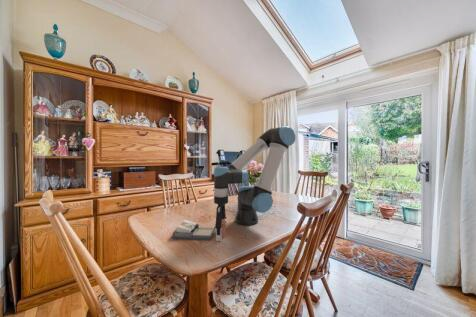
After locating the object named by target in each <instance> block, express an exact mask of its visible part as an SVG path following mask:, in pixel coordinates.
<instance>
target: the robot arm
mask: <svg viewBox="0 0 476 317" xmlns="http://www.w3.org/2000/svg"><path fill="white" fill-rule="evenodd" d="M295 142H296V134H295V131H294V129H293V128H292V127H290V126H283V125H282V126H281V127H273V128H270V129H268V130H266V131H265V132H264V133H262V134H261V135H260V136H259V137H258V138H257V139H256V141H255V142H254V143H253V144H251V145H250V146H249V148H247V149H246V150H245V151H244V152H243V153H241V155H239V156H237V158H236V159H234V160H233V162H232V163H230V164H229V165H228V166H216V167H214V170H213V186H214V187H213V190H212V191H213V195H214V196H213V203H214V204H215V205H217V207H216V209H215V210H216V214H215V226H214V227H213V228H215V241H216V242H222V241H223V240H222V228H221V224H222V221H226V219H227V216H226V204H228V203H229V185H232V184H233V185H234V184H245V183H247V182H248V181H249V177H250V176H249V172H248V170H246V169H244V168H246V167H247V166H248V165H249V164H250V163H251V162H253V161H254V160H255V159H256V158H257V157H259V155H260V154H261V153H262V152H263V151H267V150H268V149H269V148H270V149H269V152H268V155H267V157H266V160H265V162H264V165H263V168H262V170H261V173H260V176H259V178H258V181H257V183H256V184H254V185H244V186H239V187H238V188H237V211H236V214H235V216H234V223H236V224H237V225H241V226H254V225H257V224H258V223H259V216H258V213H261V214H263V213H266V212H268V211H270V210H271V208H273V204H274V199H273V196H272V194H273V190H272V187H273V185H274V184H273V183H274V181H275V178H276V176H277V173H278V170H279V168H280V164H281V162H282V160H283V156H284V153H285V152H287V151H288V150H289V148H290V146H292V145H293V144H294V143H295Z"/></svg>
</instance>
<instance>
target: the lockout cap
mask: <svg viewBox="0 0 476 317" xmlns="http://www.w3.org/2000/svg"><path fill="white" fill-rule="evenodd" d="M226 224H227V220H225V221H222V224H221V228H222V238H225V237H226V234H227V233H226V232H227V231H226V230H227V229H226V228H227V227H226V226H227V225H226Z"/></svg>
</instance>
